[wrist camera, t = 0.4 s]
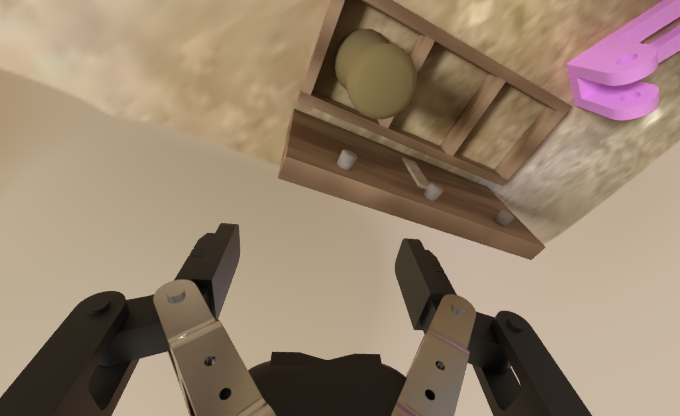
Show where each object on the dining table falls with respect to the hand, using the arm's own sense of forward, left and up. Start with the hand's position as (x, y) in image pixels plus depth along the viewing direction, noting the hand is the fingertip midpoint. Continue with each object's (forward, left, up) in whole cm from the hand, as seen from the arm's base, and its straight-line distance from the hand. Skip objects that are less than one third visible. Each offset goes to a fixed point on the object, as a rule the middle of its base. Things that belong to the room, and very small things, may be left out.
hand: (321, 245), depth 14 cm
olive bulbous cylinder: (-7, +3, -22) cm, 23 cm away
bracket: (-19, +29, -22) cm, 41 cm away
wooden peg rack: (-5, +12, -21) cm, 25 cm away
